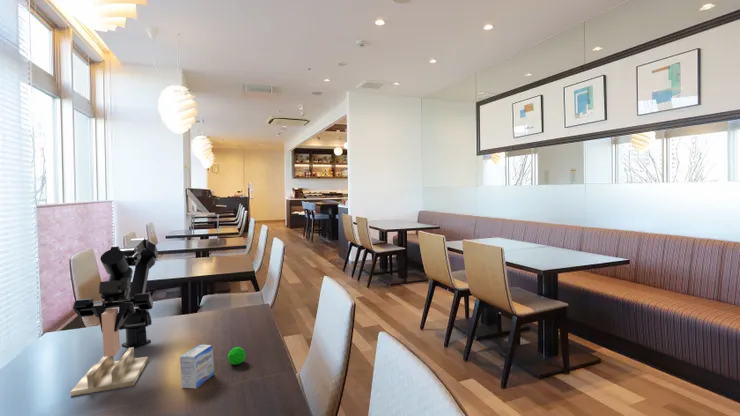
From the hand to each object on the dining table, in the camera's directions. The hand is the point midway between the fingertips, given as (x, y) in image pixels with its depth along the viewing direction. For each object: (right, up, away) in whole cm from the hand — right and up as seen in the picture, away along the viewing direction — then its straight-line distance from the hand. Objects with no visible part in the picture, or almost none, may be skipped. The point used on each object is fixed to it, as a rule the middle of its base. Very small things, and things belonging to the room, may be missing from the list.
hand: (109, 331), depth 102 cm
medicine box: (+26, -13, -2) cm, 29 cm away
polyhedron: (+33, -13, +8) cm, 36 cm away
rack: (0, -13, +2) cm, 13 cm away
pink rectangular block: (0, -7, +2) cm, 7 cm away
